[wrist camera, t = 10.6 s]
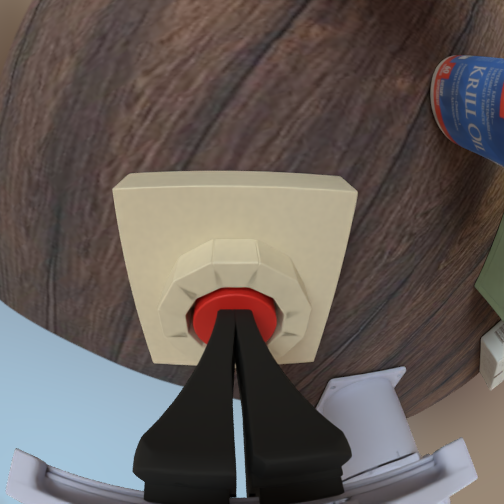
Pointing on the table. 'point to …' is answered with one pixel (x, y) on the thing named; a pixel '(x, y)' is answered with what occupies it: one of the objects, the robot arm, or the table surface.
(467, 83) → the pill bottle
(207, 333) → the button
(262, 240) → the control box
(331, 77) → the table surface
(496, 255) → the cabinet
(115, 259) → the table surface
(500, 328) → the cosmetic box
